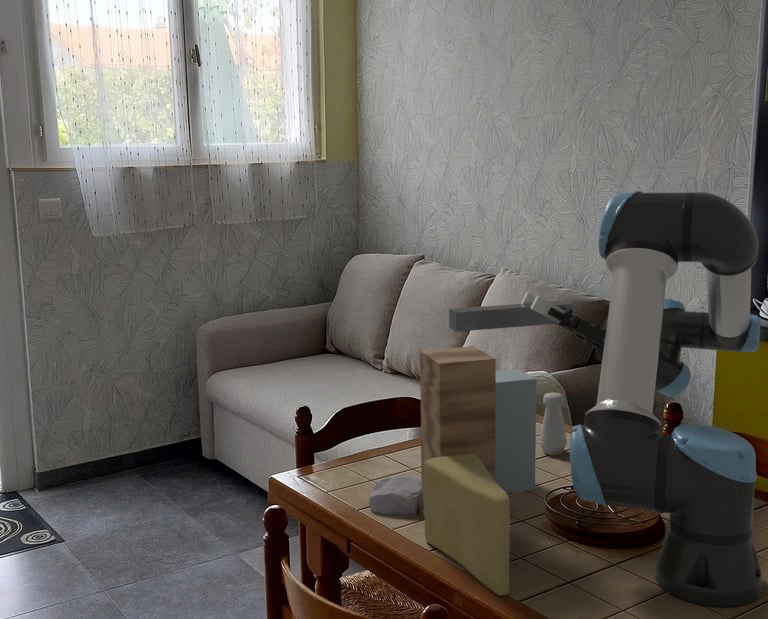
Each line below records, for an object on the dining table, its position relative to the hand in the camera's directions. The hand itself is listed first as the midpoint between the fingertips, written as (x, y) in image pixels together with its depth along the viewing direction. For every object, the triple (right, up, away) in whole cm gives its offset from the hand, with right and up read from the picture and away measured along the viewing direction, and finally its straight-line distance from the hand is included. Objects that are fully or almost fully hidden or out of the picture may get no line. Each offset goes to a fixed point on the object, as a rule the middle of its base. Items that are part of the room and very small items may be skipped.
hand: (529, 300), depth 171 cm
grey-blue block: (-6, -36, +4) cm, 37 cm away
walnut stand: (-14, -39, -10) cm, 43 cm away
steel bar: (-3, -5, 0) cm, 6 cm away
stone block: (-25, -38, -2) cm, 46 cm away
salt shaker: (+9, -33, +23) cm, 41 cm away
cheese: (-13, -42, -27) cm, 52 cm away
